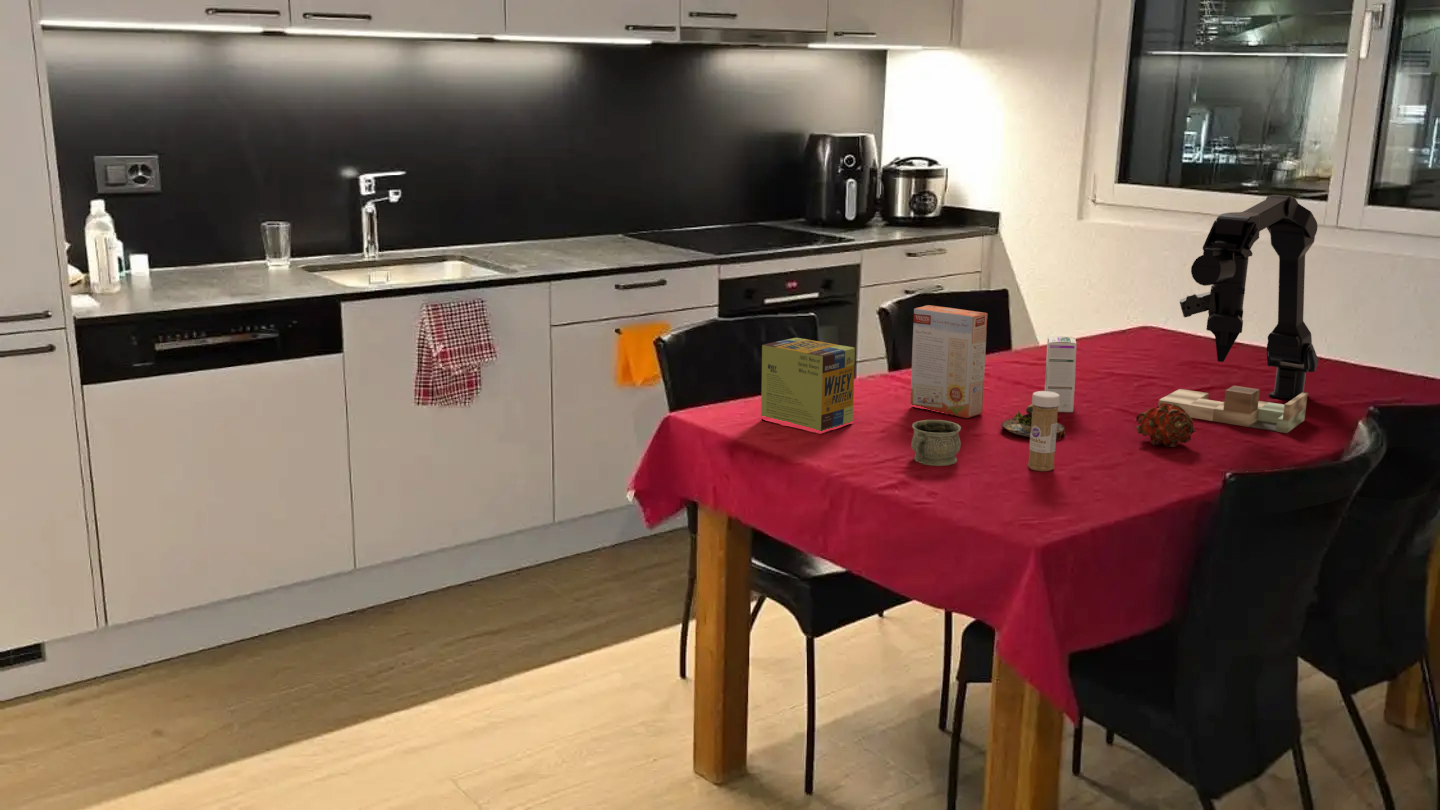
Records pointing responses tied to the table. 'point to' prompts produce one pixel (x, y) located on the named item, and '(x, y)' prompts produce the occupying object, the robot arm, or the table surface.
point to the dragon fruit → (1166, 425)
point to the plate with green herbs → (1026, 424)
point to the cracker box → (948, 360)
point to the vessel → (936, 442)
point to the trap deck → (1262, 418)
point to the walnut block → (1241, 399)
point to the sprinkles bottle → (1043, 430)
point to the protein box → (808, 383)
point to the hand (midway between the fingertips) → (1220, 361)
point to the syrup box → (1061, 370)
